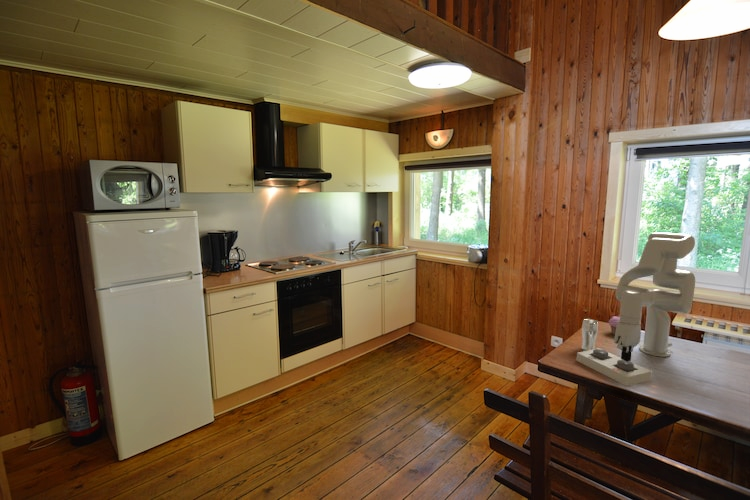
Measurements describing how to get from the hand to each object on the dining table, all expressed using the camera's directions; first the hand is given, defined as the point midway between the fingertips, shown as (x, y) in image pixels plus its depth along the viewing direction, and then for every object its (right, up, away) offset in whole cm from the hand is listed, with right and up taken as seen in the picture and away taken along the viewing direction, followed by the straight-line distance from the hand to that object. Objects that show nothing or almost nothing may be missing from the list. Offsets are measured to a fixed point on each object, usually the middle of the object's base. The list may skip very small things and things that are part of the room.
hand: (625, 359), depth 162 cm
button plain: (-4, -3, +12) cm, 13 cm away
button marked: (0, -4, +1) cm, 5 cm away
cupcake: (+27, 0, +48) cm, 55 cm away
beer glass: (0, -3, +29) cm, 29 cm away
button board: (-2, -6, +7) cm, 10 cm away
